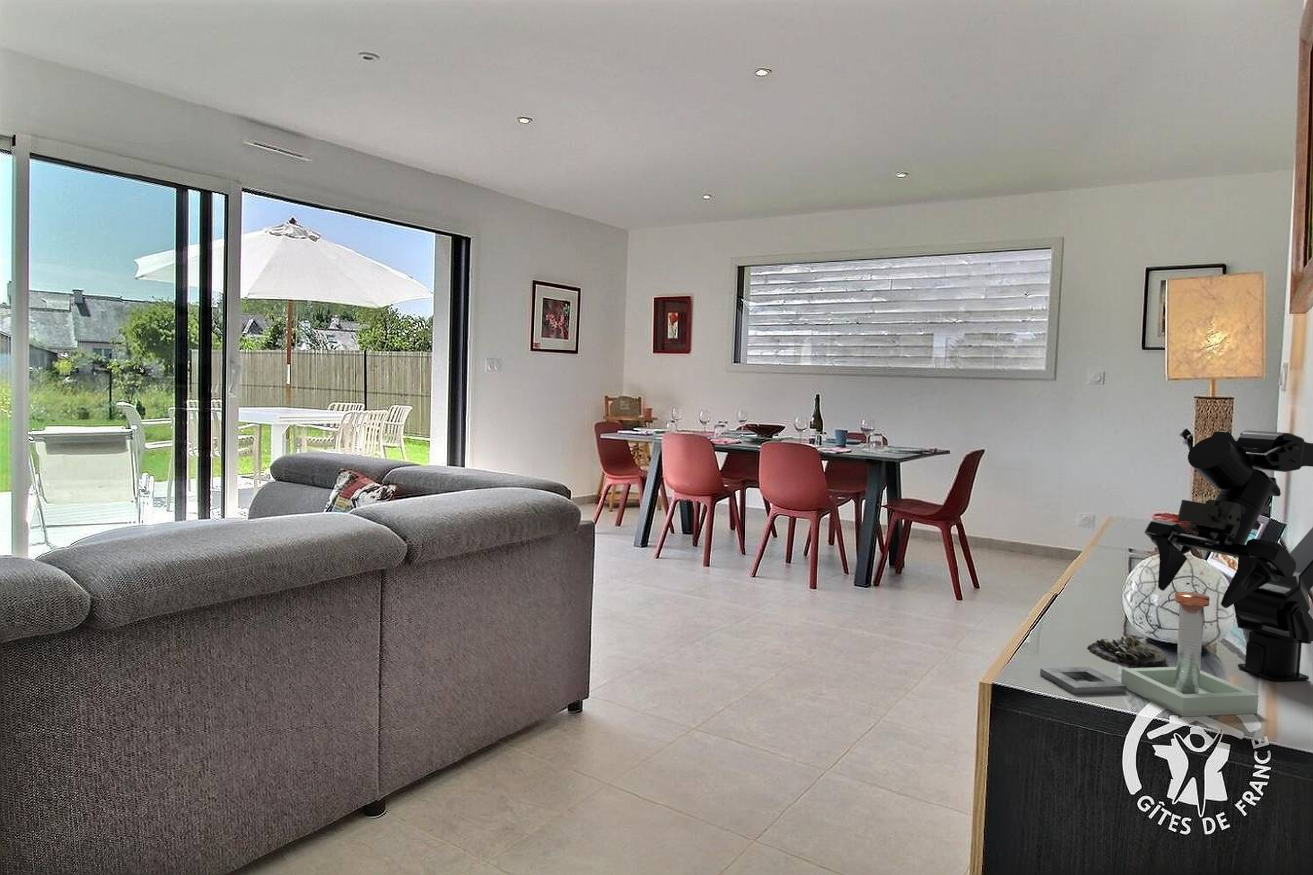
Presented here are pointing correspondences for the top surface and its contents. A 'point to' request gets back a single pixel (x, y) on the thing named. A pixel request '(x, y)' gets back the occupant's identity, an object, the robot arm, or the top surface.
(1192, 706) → the tray
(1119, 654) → the dark brown textured lump
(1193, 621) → the pin
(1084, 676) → the collar plate
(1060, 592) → the top surface
